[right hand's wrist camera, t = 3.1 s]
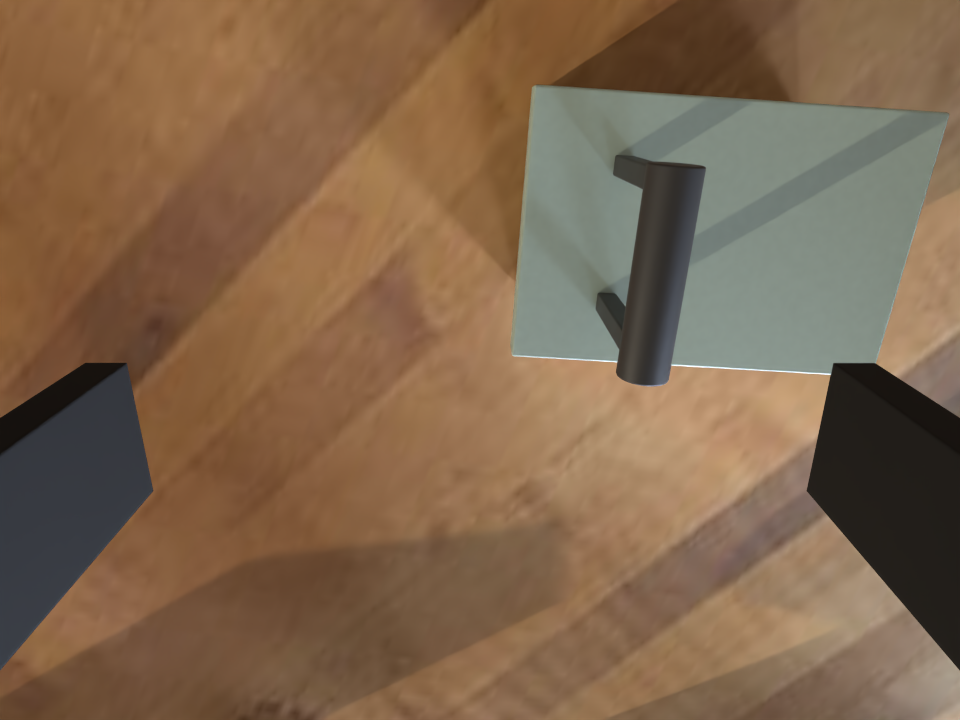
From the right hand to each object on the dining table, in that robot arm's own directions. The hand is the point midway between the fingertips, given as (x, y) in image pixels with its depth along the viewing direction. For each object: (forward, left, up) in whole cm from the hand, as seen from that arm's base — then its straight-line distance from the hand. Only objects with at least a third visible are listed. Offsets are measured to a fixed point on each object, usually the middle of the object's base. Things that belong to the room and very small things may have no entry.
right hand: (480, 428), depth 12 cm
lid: (-3, -8, -13) cm, 16 cm away
